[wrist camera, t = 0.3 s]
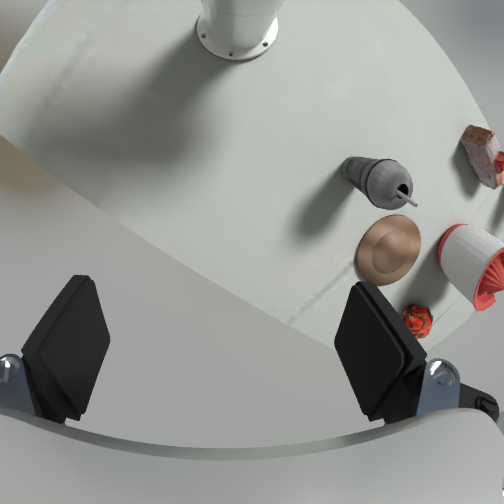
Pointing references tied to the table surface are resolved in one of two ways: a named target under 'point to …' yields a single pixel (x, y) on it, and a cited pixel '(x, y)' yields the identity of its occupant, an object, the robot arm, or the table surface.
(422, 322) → the dragon fruit
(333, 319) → the table surface
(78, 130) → the table surface
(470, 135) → the food item
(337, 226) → the table surface
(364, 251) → the brown round plate
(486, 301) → the citrus juicer
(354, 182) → the beverage cup
